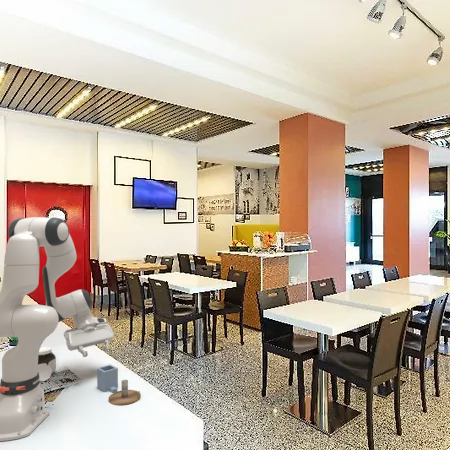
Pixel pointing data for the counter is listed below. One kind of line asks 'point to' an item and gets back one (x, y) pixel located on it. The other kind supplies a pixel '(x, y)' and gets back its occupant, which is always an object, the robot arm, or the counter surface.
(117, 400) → the post plate
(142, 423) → the counter surface
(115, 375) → the open square bin
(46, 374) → the spread jar
